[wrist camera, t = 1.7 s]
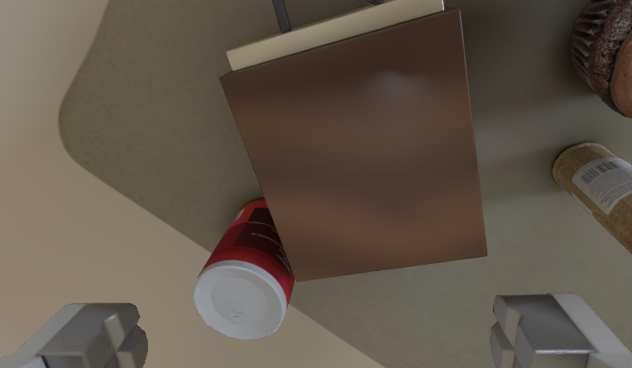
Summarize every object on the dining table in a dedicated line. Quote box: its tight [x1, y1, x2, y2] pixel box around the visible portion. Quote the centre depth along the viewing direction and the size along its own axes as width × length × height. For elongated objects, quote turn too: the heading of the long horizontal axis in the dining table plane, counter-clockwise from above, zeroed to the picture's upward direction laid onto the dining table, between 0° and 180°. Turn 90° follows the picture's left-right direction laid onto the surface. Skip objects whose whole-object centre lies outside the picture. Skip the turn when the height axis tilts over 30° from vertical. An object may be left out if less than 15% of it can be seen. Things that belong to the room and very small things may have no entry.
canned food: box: [193, 199, 295, 340], centre depth 34 cm, size 8×8×11 cm
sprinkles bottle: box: [552, 142, 632, 254], centre depth 26 cm, size 5×5×14 cm
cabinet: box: [219, 7, 487, 282], centre depth 28 cm, size 16×14×11 cm
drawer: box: [226, 0, 444, 71], centre depth 26 cm, size 19×12×9 cm, turn 16°
